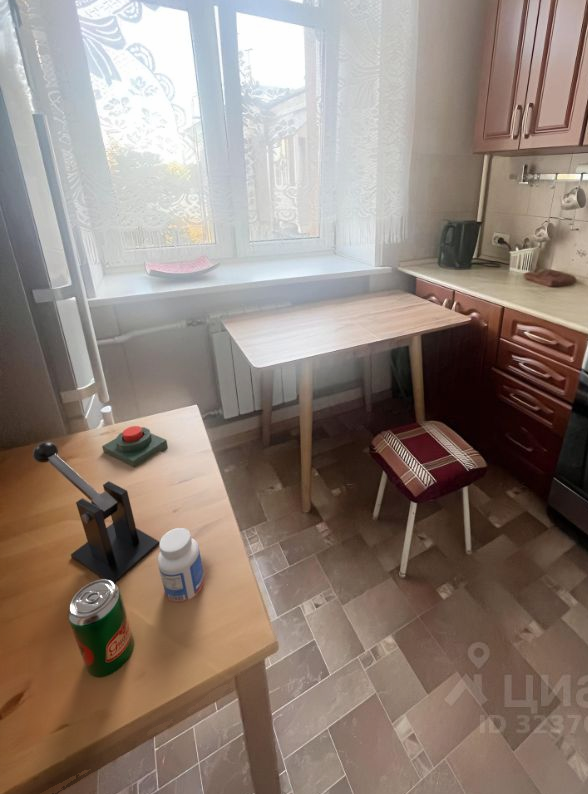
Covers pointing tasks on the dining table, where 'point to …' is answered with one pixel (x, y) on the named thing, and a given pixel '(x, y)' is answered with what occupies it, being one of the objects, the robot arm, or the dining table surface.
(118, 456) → the control block
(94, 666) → the soda can
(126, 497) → the bracket
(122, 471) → the dining table surface
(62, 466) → the lever
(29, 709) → the dining table surface
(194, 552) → the pill bottle
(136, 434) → the button
